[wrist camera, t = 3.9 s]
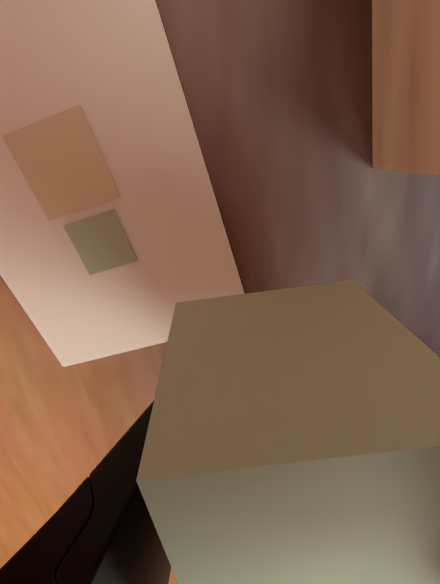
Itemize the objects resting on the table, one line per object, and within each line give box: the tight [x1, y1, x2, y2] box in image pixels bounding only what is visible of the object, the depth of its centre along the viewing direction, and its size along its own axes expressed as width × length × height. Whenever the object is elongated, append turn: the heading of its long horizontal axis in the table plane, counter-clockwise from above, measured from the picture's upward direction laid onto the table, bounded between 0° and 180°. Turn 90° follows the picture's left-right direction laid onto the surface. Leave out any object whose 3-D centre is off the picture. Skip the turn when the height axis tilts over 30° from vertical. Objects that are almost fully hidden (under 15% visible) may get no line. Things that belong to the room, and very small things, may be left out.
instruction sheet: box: [0, 0, 245, 367], centre depth 10 cm, size 9×12×1 cm
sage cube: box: [136, 280, 440, 584], centre depth 7 cm, size 5×5×5 cm
